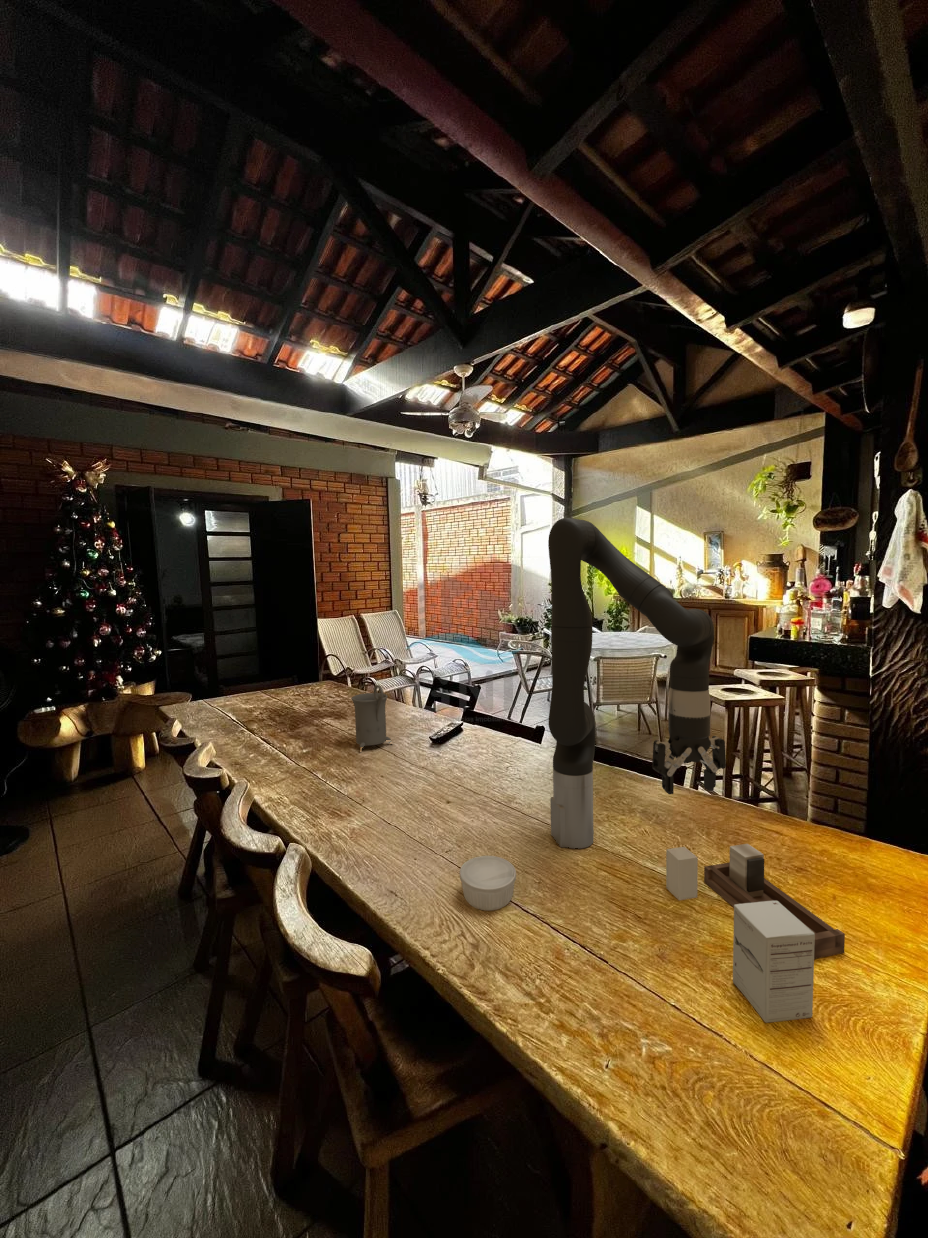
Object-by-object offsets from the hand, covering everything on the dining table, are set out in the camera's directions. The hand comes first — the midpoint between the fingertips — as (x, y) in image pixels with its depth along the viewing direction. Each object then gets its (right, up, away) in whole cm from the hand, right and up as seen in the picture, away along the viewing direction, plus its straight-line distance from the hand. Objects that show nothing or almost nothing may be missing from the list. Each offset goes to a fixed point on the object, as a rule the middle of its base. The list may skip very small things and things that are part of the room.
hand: (689, 791), depth 98 cm
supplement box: (0, -21, -27) cm, 34 cm away
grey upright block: (-2, -19, -2) cm, 20 cm away
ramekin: (-40, -21, -1) cm, 45 cm away
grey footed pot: (-80, -15, +92) cm, 123 cm away
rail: (+10, -19, -8) cm, 23 cm away
